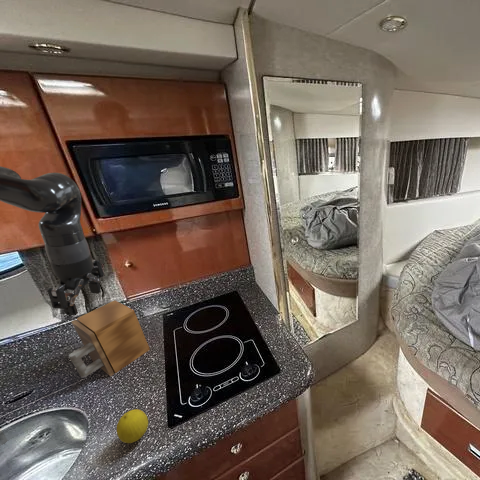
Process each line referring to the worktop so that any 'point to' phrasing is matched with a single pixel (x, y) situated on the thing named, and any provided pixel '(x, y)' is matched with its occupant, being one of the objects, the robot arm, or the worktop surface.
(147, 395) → the worktop surface
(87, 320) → the cupboard
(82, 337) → the cupboard door
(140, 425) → the lemon
